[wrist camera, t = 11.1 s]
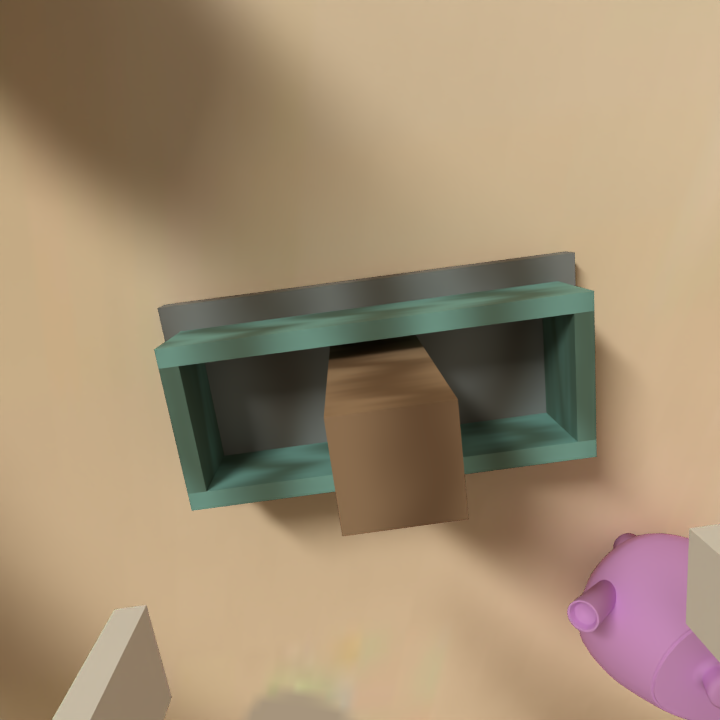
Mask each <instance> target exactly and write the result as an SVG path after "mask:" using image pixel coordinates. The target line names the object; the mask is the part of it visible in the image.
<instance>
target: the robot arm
mask: <svg viewBox="0 0 720 720" xmlns="http://www.w3.org/2000/svg"><path fill="white" fill-rule="evenodd" d="M686 624H687V626H688V627H689V628H690V629H691V630H692V631H693V632H694V634H695V635H696V636H697V637H698V638H699V639H700V640H701V642H702V643H703V644H704V645H705V646H706V647H707V649H708V650H709V651H710V652H711V653H712V654H713V655H714V657H715V658H716V659H717V660H718V661H719V662H720V524H717V525H710V526H703V527H696V528H689V548H688V575H687V602H686ZM171 698H172V696H171V693H170V689H169V686H168V682H167V678H166V675H165V671H164V667H163V664H162V660H161V656H160V653H159V649H158V645H157V642H156V638H155V635H154V631H153V627H152V624H151V620H150V616H149V613H148V609H147V605H142V606H135V607H128V608H121V609H114V611H113V613H112V614H111V616H110V618H109V620H108V621H107V623H106V625H105V627H104V628H103V630H102V632H101V634H100V636H99V637H98V639H97V641H96V643H95V644H94V646H93V648H92V650H91V651H90V653H89V655H88V657H87V659H86V660H85V662H84V664H83V666H82V667H81V669H80V671H79V673H78V674H77V676H76V678H75V680H74V682H73V683H72V685H71V687H70V689H69V690H68V692H67V694H66V696H65V697H64V699H63V701H62V703H61V705H60V706H59V708H58V710H57V712H56V713H55V715H54V717H53V719H52V720H164V718H165V715H166V712H167V709H168V706H169V703H170V700H171Z"/></svg>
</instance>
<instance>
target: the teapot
mask: <svg viewBox="0 0 720 720" xmlns="http://www.w3.org/2000/svg"><path fill="white" fill-rule="evenodd" d="M688 548H689V538H685V537H681V536H677V535H671V534H662V533H657V534H644V535H638V536H636V535H634V534H631V533H626V534H623V535H621V536H619V537H618V538H617V539H616V540H615V542H614V545H613V550H612V551H610V552H609V553H608V554H607V555H606V556H605V557H604V558H603V559H602V560H601V562H600V563H599V564H598V565H597V567H596V568H595V569H594V571H593V572H592V574H591V576H590V578H589V580H588V582H587V584H586V587H585V589H584V592H583V594H582V595H581V596H579V597H578V598H577V599H576V600H574V601H573V602H572V603H571V604H570V605H569V607H568V611H567V614H568V618H569V620H570V622H571V624H572V625H573V626H574V627H575V628H576V629H578V630H579V631H580V636H581V638H582V641H583V643H584V644H585V646H586V647H587V649H588V651H589V652H590V654H591V655H592V656H593V658H594V659H595V660H596V661H597V663H598V664H599V665H600V666H601V667H602V668H603V669H604V670H605V671H606V672H607V673H608V674H609V675H610V676H611V677H612V678H613V679H615V680H616V681H617V682H618V683H620V684H621V685H623V686H624V687H625V688H627V689H628V690H630V691H631V692H633V693H635V694H636V695H638V696H639V697H641V698H643V699H644V700H646V701H648V702H650V703H651V704H653V705H655V706H657V707H658V708H660V709H662V710H664V711H666V712H668V713H671V714H673V715H676V716H678V717H681V718H684V719H687V720H720V662H719V661H718V660H717V659H716V658H715V657H714V655H713V654H712V653H711V652H710V651H709V650H708V649H707V647H706V646H705V645H704V644H703V643H702V642H701V640H700V639H699V638H698V637H697V636H696V635H695V634H694V632H693V631H692V630H691V629H690V628H689V627H688V626H687V624H686V602H687V575H688Z"/></svg>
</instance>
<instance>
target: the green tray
mask: <svg viewBox="0 0 720 720" xmlns="http://www.w3.org/2000/svg"><path fill="white" fill-rule="evenodd" d="M158 312H159V316H160V321H161V325H162V330H163V334H164V338H165V342H164V343H163V344H162V345H160V346H159V347H157V348H156V349H154V351H155V355H156V360H157V364H158V368H159V372H160V377H161V381H162V385H163V389H164V394H165V398H166V402H167V407H168V411H169V415H170V419H171V424H172V428H173V432H174V436H175V441H176V445H177V449H178V454H179V458H180V462H181V466H182V471H183V475H184V479H185V483H186V488H187V492H188V496H189V501H190V505H191V509H192V511H193V510H200V509H208V508H215V507H223V506H230V505H238V504H245V503H253V502H260V501H268V500H275V499H283V498H290V497H298V496H305V495H313V494H320V493H328V492H335V486H334V480H333V473H332V467H331V461H330V455H329V448H328V442H327V436H326V429H325V423H324V408H325V397H326V386H327V374H328V363H329V351H330V346H334V345H342V344H349V343H357V342H364V341H372V340H379V339H387V338H394V337H402V336H409V335H416V336H417V338H418V339H419V341H420V342H421V344H422V346H423V347H424V349H425V350H426V352H427V353H428V355H429V356H430V358H431V359H432V361H433V362H434V364H435V365H436V367H437V368H438V370H439V371H440V373H441V374H442V376H443V378H444V379H445V381H446V382H447V384H448V385H449V387H450V388H451V390H452V391H453V393H454V394H455V396H456V397H457V399H458V406H459V417H460V428H461V440H462V451H463V462H464V473H465V474H470V473H478V472H485V471H493V470H500V469H508V468H515V467H523V466H530V465H538V464H545V463H553V462H560V461H568V460H575V459H583V458H590V457H597V453H596V389H595V326H594V291H592V290H588V289H585V288H581V287H577V286H575V253H573V252H559V253H552V254H544V255H536V256H529V257H521V258H514V259H506V260H499V261H491V262H484V263H476V264H469V265H461V266H454V267H446V268H439V269H431V270H424V271H416V272H409V273H401V274H393V275H386V276H378V277H371V278H363V279H356V280H348V281H341V282H333V283H326V284H318V285H311V286H303V287H296V288H288V289H281V290H273V291H265V292H258V293H250V294H243V295H235V296H228V297H220V298H213V299H205V300H198V301H190V302H183V303H175V304H168V305H163V306H161V307H159V308H158Z"/></svg>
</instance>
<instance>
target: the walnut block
mask: <svg viewBox="0 0 720 720" xmlns="http://www.w3.org/2000/svg"><path fill="white" fill-rule="evenodd" d="M324 423H325V429H326V436H327V442H328V448H329V455H330V461H331V467H332V473H333V480H334V486H335V492H336V499H337V505H338V511H339V518H340V524H341V530H342V536H348V535H355V534H363V533H370V532H377V531H385V530H392V529H399V528H407V527H414V526H421V525H429V524H436V523H443V522H451V521H458V520H465V519H469V518H468V507H467V496H466V485H465V473H464V462H463V451H462V440H461V428H460V417H459V406H458V399H457V397H456V396H455V394H454V393H453V391H452V390H451V388H450V387H449V385H448V384H447V382H446V381H445V379H444V378H443V376H442V374H441V373H440V371H439V370H438V368H437V367H436V365H435V364H434V362H433V361H432V359H431V358H430V356H429V355H428V353H427V352H426V350H425V349H424V347H423V346H422V344H421V342H420V341H419V339H418V338H417V336H416V335H409V336H402V337H394V338H387V339H379V340H372V341H364V342H357V343H349V344H342V345H334V346H330V351H329V363H328V374H327V386H326V397H325V408H324Z"/></svg>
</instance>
